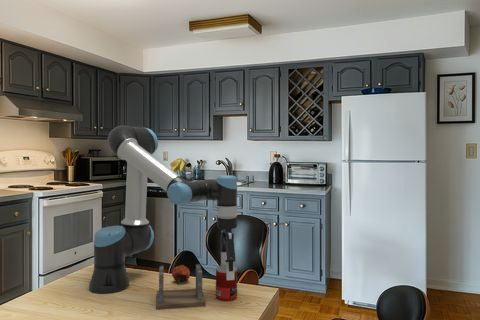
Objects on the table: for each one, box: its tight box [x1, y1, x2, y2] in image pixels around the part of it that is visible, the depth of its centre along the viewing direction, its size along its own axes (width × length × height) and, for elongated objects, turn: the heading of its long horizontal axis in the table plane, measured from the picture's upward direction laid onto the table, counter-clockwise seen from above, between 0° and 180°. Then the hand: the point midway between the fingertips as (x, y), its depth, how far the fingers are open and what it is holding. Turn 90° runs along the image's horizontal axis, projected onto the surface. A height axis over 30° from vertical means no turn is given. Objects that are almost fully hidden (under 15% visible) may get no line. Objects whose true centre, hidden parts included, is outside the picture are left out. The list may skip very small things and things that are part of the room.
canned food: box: [215, 265, 238, 302], centre depth 142 cm, size 8×8×11 cm
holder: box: [155, 263, 206, 311], centre depth 139 cm, size 14×17×12 cm
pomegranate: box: [171, 263, 191, 285], centre depth 158 cm, size 7×7×10 cm
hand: (227, 274), depth 142 cm, fingers open, 13 cm apart
